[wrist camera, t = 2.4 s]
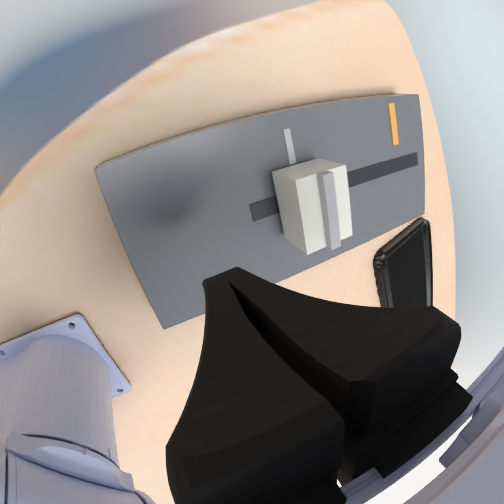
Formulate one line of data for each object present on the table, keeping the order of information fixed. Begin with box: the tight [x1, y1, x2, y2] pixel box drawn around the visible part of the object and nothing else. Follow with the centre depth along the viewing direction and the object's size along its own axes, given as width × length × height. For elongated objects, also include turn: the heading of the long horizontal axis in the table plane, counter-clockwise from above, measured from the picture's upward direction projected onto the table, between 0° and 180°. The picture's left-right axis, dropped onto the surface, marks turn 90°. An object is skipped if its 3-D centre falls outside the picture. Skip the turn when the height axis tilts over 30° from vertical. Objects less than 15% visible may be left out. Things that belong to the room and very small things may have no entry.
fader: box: [272, 158, 352, 255], centre depth 16 cm, size 3×4×3 cm
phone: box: [373, 218, 433, 308], centre depth 29 cm, size 8×1×15 cm
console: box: [94, 94, 425, 330], centre depth 18 cm, size 22×10×3 cm, turn 102°
